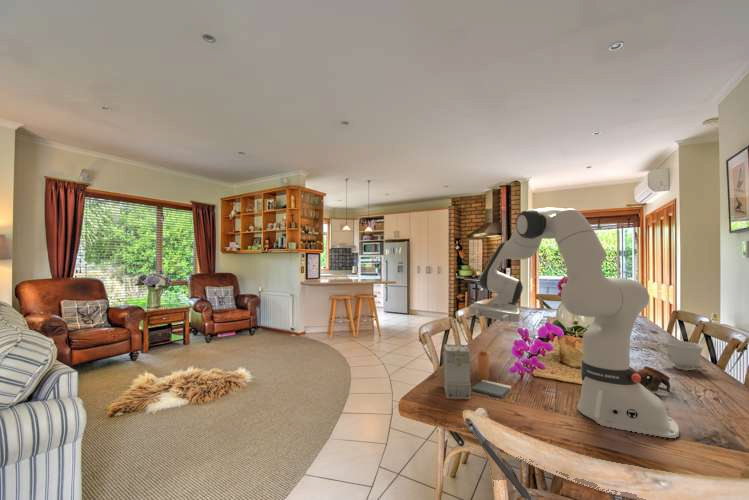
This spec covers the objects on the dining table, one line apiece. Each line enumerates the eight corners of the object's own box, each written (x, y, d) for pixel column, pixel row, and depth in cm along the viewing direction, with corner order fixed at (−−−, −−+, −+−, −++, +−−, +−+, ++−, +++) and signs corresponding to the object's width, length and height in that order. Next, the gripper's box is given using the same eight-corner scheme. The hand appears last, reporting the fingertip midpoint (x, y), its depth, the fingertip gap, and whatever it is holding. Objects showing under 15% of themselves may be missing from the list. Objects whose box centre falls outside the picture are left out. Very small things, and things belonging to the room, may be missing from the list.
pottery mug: (627, 383, 120) (637, 363, 121) (657, 400, 116) (668, 379, 116) (637, 386, 110) (649, 364, 110) (671, 404, 105) (683, 381, 106)
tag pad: (511, 388, 114) (511, 386, 114) (501, 397, 106) (501, 395, 106) (482, 381, 120) (482, 379, 120) (471, 390, 112) (471, 387, 112)
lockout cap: (490, 378, 123) (490, 351, 124) (486, 381, 120) (486, 353, 121) (480, 376, 126) (479, 349, 126) (476, 379, 123) (475, 351, 123)
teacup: (651, 361, 145) (651, 338, 145) (697, 366, 138) (696, 342, 138) (661, 369, 134) (660, 344, 134) (710, 375, 127) (710, 349, 127)
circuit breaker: (463, 382, 120) (462, 340, 120) (470, 398, 105) (470, 351, 106) (442, 381, 120) (442, 340, 121) (446, 397, 106) (446, 350, 107)
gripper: (473, 297, 149) (464, 305, 137) (522, 305, 138) (517, 314, 126) (472, 311, 150) (463, 320, 138) (521, 319, 139) (516, 329, 127)
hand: (489, 317), depth 132 cm, fingers open, 8 cm apart
